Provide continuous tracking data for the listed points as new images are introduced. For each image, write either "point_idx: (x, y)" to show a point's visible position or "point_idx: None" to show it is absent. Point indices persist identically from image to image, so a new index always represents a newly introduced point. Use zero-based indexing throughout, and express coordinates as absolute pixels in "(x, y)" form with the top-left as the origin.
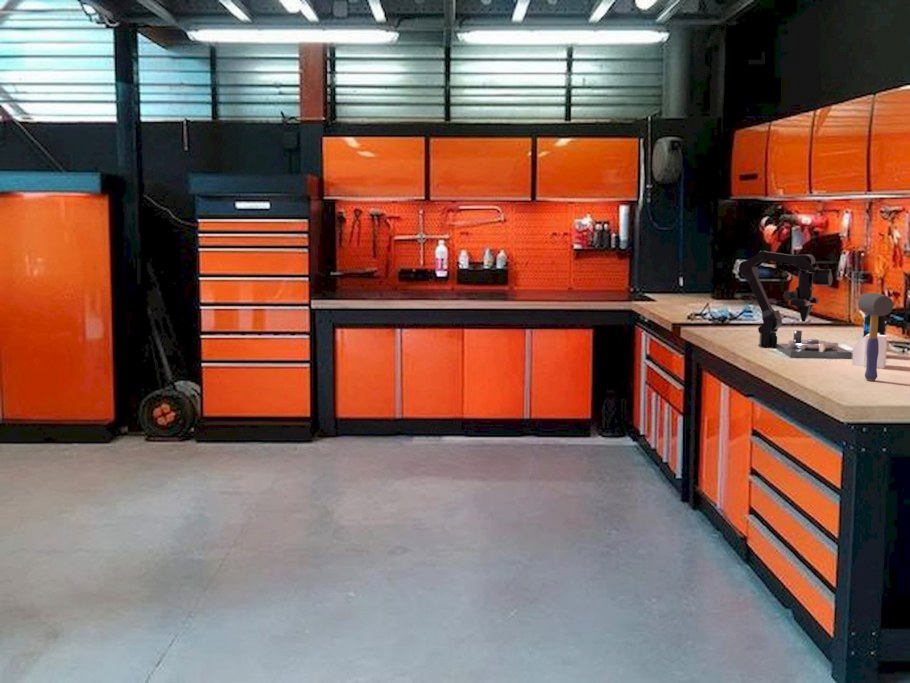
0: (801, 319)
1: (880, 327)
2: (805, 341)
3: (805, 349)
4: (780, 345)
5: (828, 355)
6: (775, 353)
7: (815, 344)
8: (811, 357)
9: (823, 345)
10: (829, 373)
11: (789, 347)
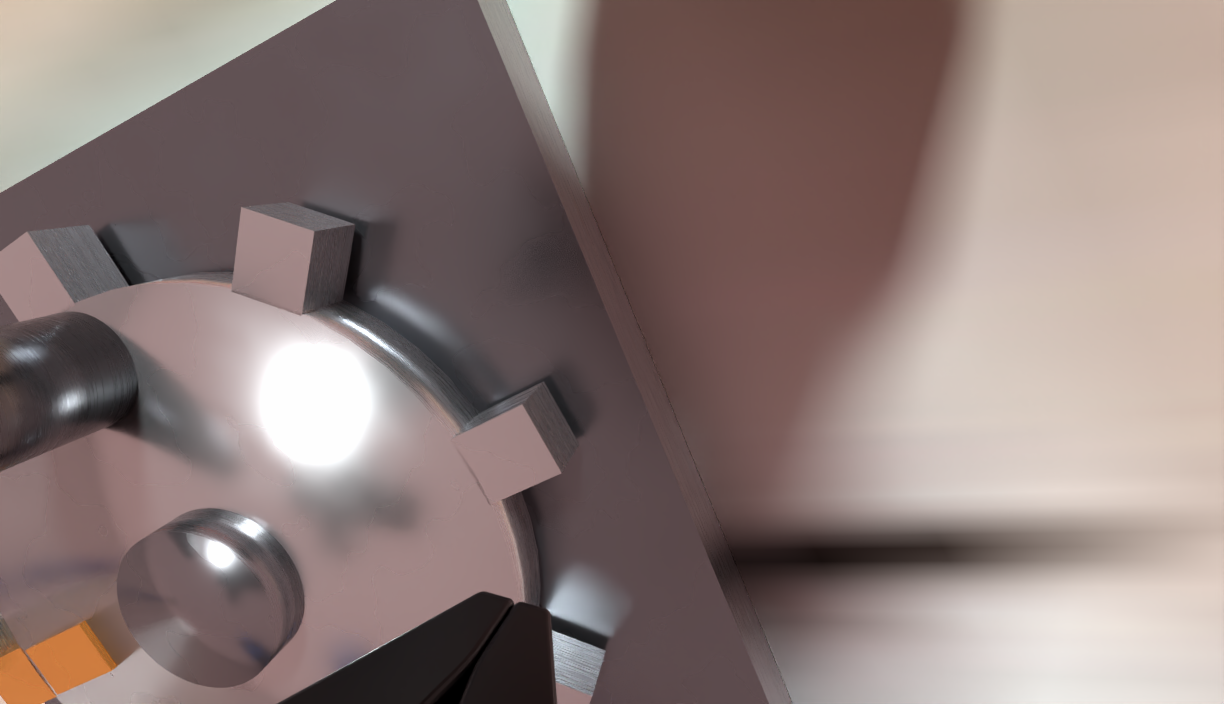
0: (434, 619)
1: None
2: (332, 476)
3: None
4: (244, 68)
5: None
6: (83, 57)
7: (90, 613)
8: None
9: (62, 702)
10: None
11: (110, 244)
